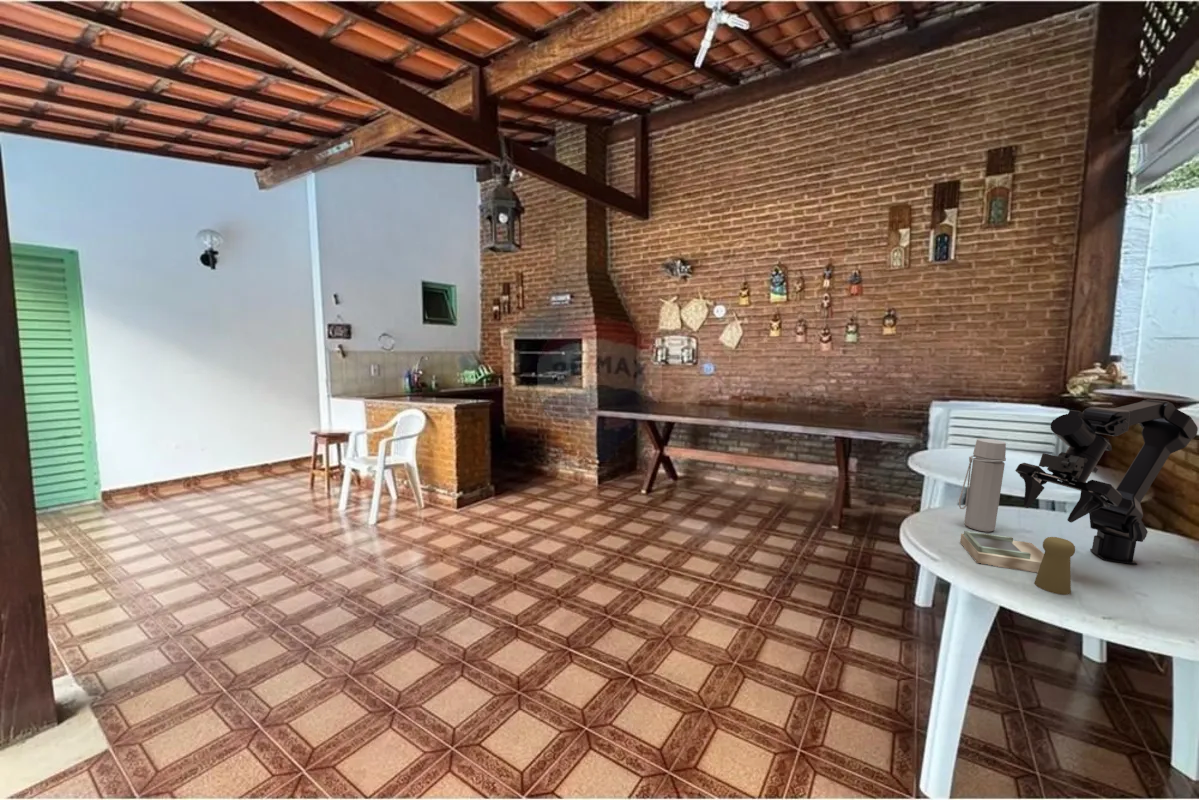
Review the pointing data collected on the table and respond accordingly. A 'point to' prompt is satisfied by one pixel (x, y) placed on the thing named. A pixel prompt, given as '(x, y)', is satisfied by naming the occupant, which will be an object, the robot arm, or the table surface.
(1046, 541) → the cork
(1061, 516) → the table surface
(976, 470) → the water bottle
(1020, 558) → the dock
